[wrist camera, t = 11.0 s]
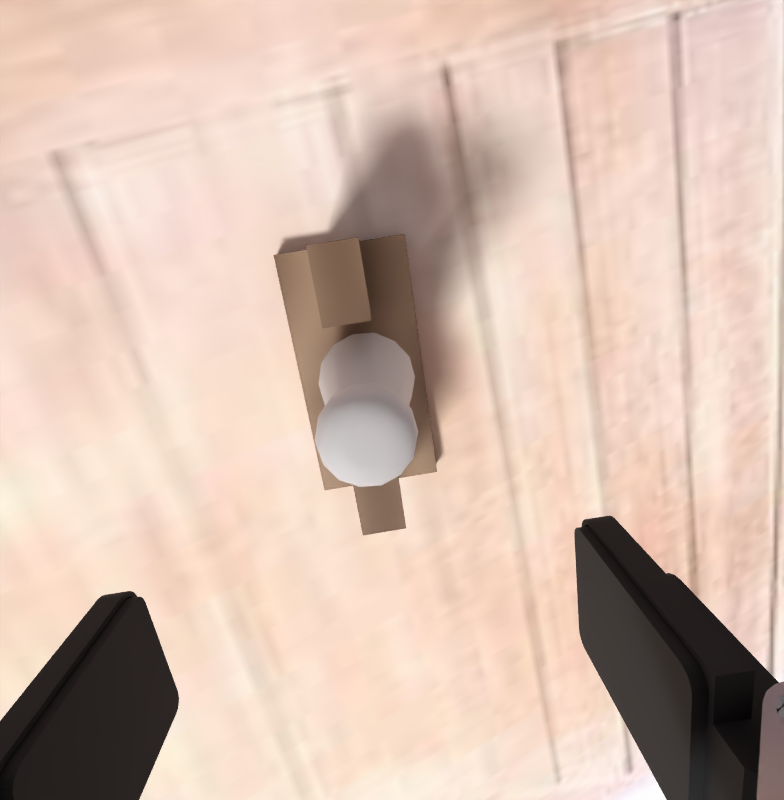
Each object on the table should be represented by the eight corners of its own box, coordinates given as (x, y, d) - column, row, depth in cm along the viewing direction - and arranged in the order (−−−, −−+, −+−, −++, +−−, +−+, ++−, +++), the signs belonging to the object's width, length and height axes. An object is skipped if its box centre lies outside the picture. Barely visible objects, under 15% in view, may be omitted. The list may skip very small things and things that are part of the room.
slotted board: (402, 234, 30) (414, 227, 23) (435, 465, 35) (453, 520, 28) (276, 255, 30) (248, 254, 23) (325, 483, 35) (315, 543, 27)
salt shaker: (408, 324, 31) (439, 370, 18) (413, 409, 32) (443, 505, 20) (317, 330, 30) (284, 381, 18) (326, 415, 32) (302, 516, 20)
